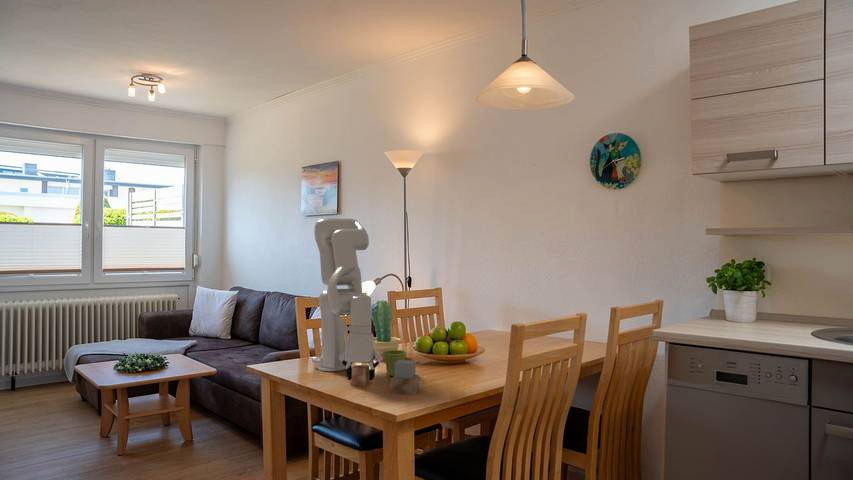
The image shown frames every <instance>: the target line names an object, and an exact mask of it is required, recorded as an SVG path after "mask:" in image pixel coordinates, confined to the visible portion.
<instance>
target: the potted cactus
mask: <svg viewBox="0 0 853 480" xmlns="http://www.w3.org/2000/svg"><path fill="white" fill-rule="evenodd" d="M392 319H393V309H392V307H391V305H390V304H389V302H388V301H387V300H377V301H376V302H375V303H371V322H372V323H373V326H374V330H375V334H376V336H375V337H374V343H375V351H376V352H377V353H378V354H380V355H381V356H382V357H383V360H385V358H384V354H383V352H384V351H389V350H398V347H399V344H401V341H402V340H401V338H399V337H396V336H393V337H392V334H391V333H392V332H391V322H392ZM375 360H378V358H376V357H375ZM383 360H382V361H383Z"/></svg>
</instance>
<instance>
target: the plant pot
mask: <svg viewBox="0 0 853 480" xmlns="http://www.w3.org/2000/svg"><path fill="white" fill-rule="evenodd" d="M383 354H384V358H385V361H384V362H385V367H386V368H385V370H386V375H387V376H388V377H391V376H392V377H394V363H396V362H397V361H398V360H406V357H407V354H408V351H407V350H403V349H397V350H389V351H384V352H383Z"/></svg>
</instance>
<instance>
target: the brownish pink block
mask: <svg viewBox="0 0 853 480" xmlns="http://www.w3.org/2000/svg"><path fill="white" fill-rule="evenodd" d="M351 367H352V379H351V385H352V386H354V385H356V386H367V385H368V384H369V383H370V380H369V370H370V366H369V364H368V365H367V364H355V365H354V366H351Z"/></svg>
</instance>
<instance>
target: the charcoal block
mask: <svg viewBox="0 0 853 480" xmlns="http://www.w3.org/2000/svg"><path fill="white" fill-rule="evenodd" d="M416 363H417V362H416V360H410V359H405V360H398V361H397V362H396V363H394V376H393V377H394V378H398V379H413V377H414V376H415V375H417V374H416V369H417V368H416V366H417V365H416Z"/></svg>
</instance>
